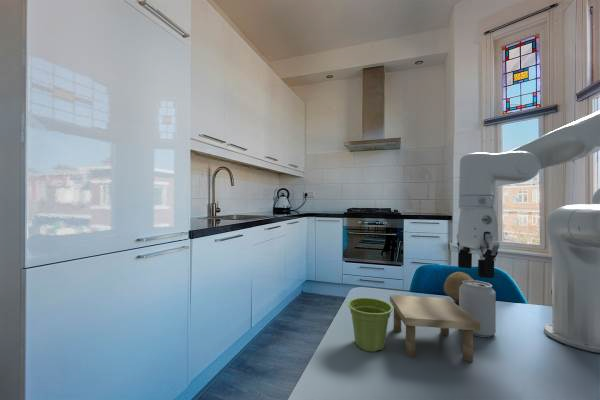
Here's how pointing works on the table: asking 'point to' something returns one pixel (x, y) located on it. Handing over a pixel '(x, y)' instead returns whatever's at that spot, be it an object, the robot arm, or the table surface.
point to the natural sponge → (455, 284)
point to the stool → (433, 320)
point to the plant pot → (370, 322)
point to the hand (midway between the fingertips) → (474, 272)
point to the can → (479, 305)
